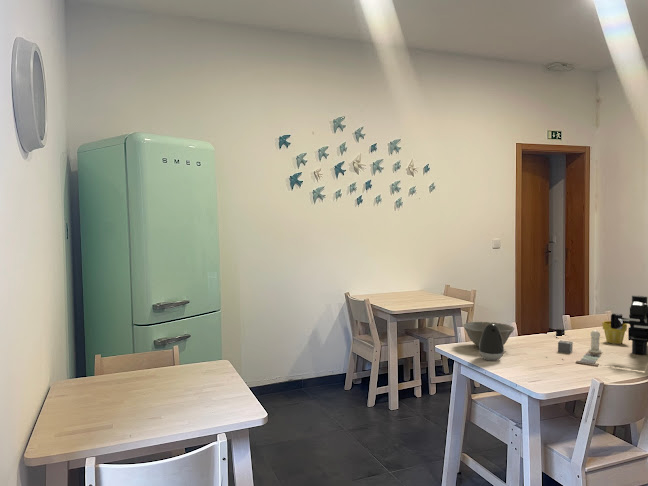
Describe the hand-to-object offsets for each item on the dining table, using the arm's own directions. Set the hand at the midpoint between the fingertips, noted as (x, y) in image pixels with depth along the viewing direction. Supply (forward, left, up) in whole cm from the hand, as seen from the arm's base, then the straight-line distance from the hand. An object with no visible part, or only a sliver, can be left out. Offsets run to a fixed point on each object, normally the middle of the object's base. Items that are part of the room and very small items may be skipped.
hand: (635, 326), depth 201 cm
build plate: (-43, -36, -17) cm, 59 cm away
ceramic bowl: (+3, -58, -17) cm, 60 cm away
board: (-5, -16, -16) cm, 24 cm away
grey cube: (-8, -27, -17) cm, 33 cm away
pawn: (-14, -16, -16) cm, 27 cm away
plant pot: (-45, -12, -17) cm, 50 cm away
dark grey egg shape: (+23, -50, -17) cm, 57 cm away
